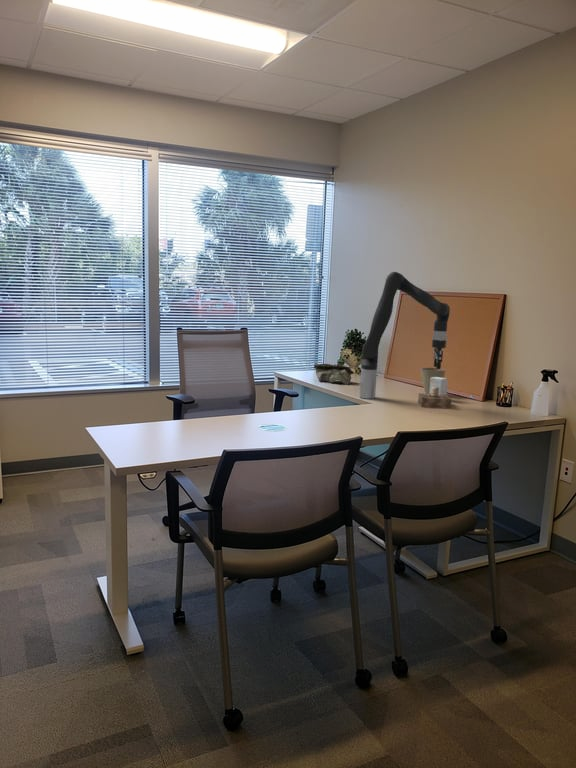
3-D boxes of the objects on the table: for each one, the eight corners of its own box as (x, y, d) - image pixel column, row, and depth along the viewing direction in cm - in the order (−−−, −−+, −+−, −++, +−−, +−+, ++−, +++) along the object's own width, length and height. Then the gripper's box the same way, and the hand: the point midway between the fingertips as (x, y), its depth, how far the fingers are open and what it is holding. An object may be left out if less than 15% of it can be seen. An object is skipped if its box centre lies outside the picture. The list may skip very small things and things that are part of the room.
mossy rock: (312, 387, 399) (307, 373, 388) (317, 372, 406) (312, 359, 395) (351, 390, 388) (346, 376, 376) (355, 375, 394) (351, 361, 383)
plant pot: (427, 391, 372) (429, 366, 369) (447, 394, 362) (449, 369, 359) (414, 393, 361) (416, 368, 359) (435, 397, 351) (437, 371, 348)
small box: (446, 400, 344) (448, 378, 341) (439, 401, 340) (441, 379, 337) (435, 397, 350) (436, 376, 348) (428, 398, 346) (430, 377, 344)
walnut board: (421, 406, 321) (422, 398, 320) (418, 401, 335) (418, 393, 334) (450, 408, 320) (451, 399, 319) (446, 403, 334) (446, 394, 333)
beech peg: (431, 405, 326) (432, 388, 324) (429, 404, 330) (431, 386, 328) (438, 405, 325) (439, 388, 324) (437, 404, 329) (438, 387, 328)
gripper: (430, 337, 328) (428, 365, 331) (434, 340, 314) (432, 369, 317) (443, 338, 328) (441, 366, 330) (448, 340, 314) (446, 370, 316)
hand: (437, 367), depth 324 cm, fingers open, 8 cm apart
